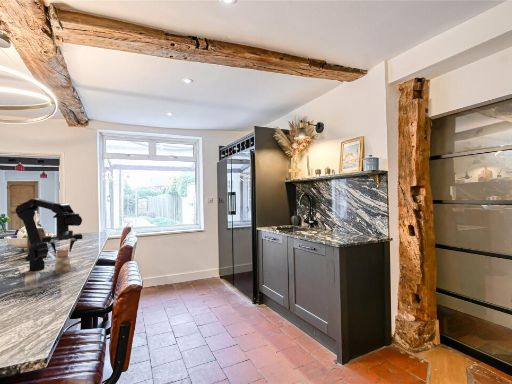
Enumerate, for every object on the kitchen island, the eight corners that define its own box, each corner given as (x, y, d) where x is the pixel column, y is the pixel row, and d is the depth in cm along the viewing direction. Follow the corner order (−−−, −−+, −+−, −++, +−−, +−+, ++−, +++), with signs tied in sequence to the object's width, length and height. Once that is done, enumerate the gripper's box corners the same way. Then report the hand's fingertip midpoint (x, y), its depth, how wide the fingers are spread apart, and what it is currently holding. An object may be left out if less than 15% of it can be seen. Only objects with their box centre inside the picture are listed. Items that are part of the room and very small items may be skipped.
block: (26, 257, 197) (26, 229, 197) (28, 255, 204) (27, 228, 204) (46, 255, 203) (45, 227, 203) (46, 253, 210) (46, 226, 210)
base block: (55, 273, 156) (55, 265, 156) (55, 270, 161) (55, 263, 161) (70, 270, 160) (70, 263, 160) (69, 268, 166) (69, 261, 166)
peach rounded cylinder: (57, 258, 157) (57, 250, 157) (56, 256, 161) (56, 249, 161) (68, 256, 160) (68, 249, 160) (67, 255, 164) (67, 248, 164)
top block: (56, 265, 157) (56, 258, 157) (56, 263, 161) (56, 256, 161) (69, 263, 160) (69, 256, 160) (68, 261, 165) (68, 254, 165)
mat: (49, 276, 152) (49, 275, 152) (48, 271, 162) (48, 270, 162) (77, 271, 160) (77, 271, 160) (75, 267, 170) (75, 266, 170)
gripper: (42, 228, 149) (42, 258, 149) (83, 225, 160) (83, 253, 160) (42, 226, 158) (42, 254, 158) (81, 224, 169) (81, 250, 169)
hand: (62, 253), depth 161 cm, fingers open, 6 cm apart
